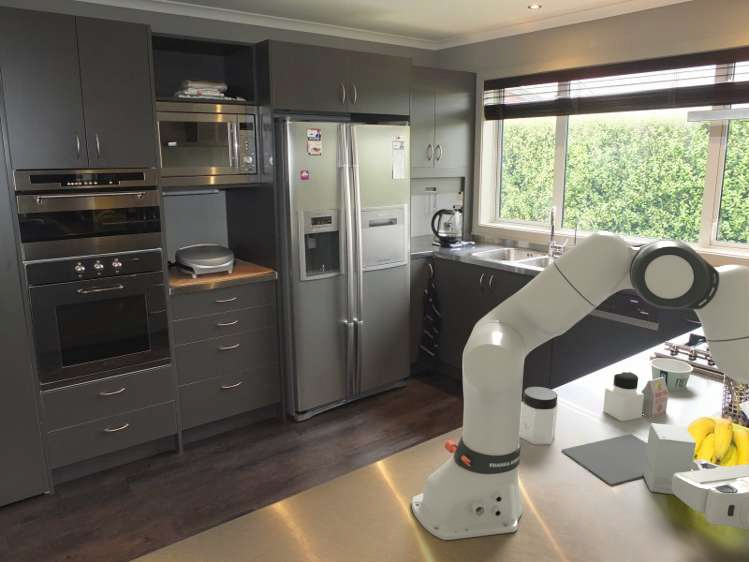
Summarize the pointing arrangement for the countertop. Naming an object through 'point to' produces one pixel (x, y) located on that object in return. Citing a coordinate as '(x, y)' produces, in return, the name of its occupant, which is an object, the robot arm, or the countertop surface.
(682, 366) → the food container
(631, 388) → the medicine bottle
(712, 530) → the countertop surface
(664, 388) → the juice carton
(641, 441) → the mat
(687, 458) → the supplement box
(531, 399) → the jar
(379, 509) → the countertop surface
